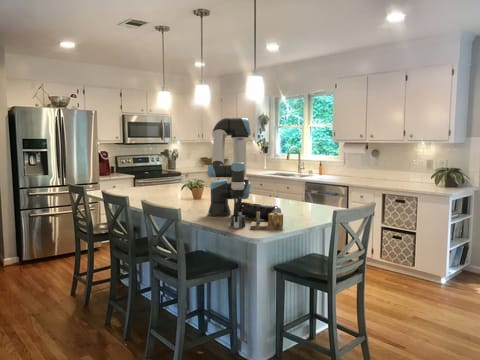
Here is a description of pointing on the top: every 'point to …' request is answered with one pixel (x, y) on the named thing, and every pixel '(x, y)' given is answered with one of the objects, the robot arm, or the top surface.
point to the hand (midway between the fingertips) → (238, 225)
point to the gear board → (273, 222)
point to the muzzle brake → (258, 210)
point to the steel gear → (241, 221)
